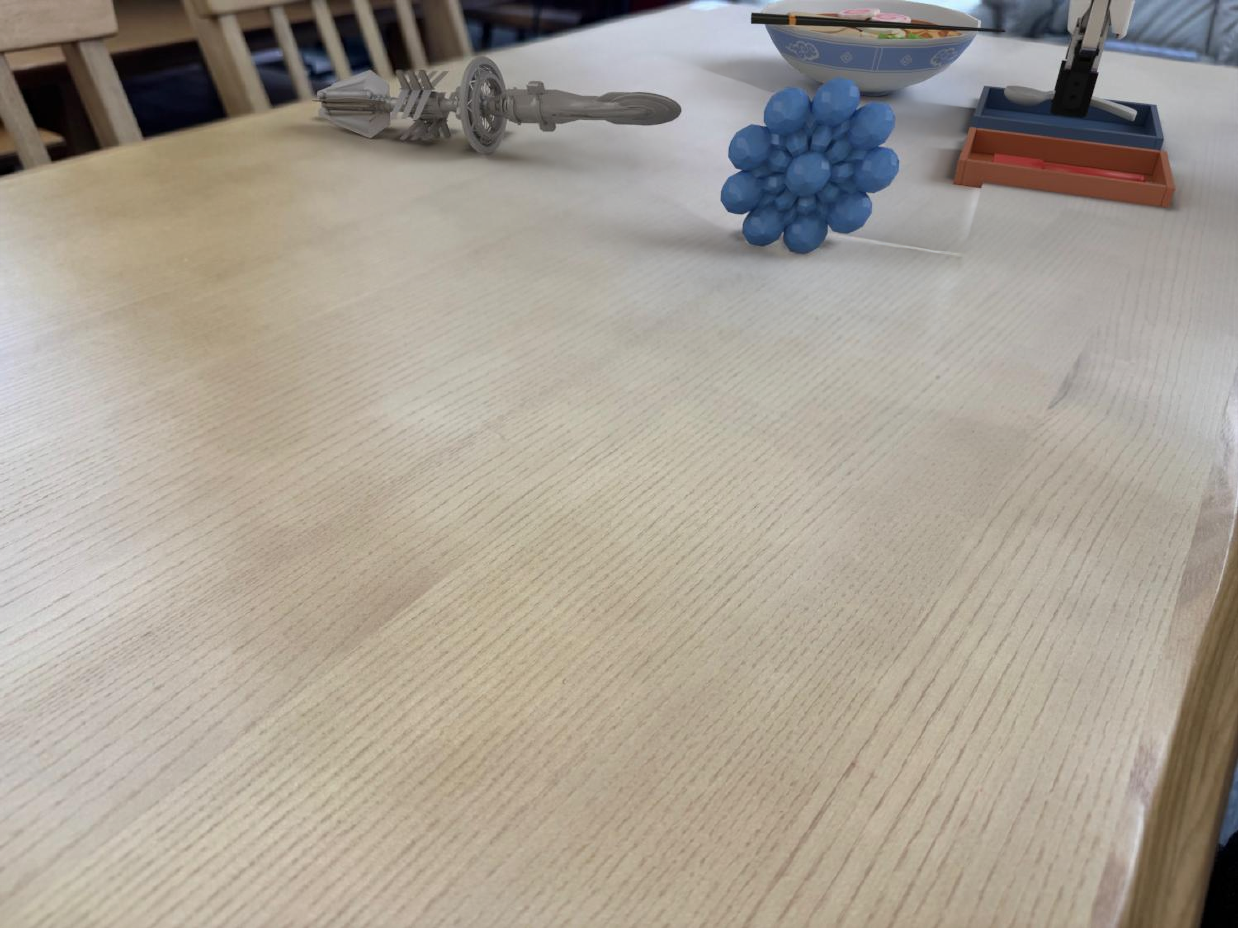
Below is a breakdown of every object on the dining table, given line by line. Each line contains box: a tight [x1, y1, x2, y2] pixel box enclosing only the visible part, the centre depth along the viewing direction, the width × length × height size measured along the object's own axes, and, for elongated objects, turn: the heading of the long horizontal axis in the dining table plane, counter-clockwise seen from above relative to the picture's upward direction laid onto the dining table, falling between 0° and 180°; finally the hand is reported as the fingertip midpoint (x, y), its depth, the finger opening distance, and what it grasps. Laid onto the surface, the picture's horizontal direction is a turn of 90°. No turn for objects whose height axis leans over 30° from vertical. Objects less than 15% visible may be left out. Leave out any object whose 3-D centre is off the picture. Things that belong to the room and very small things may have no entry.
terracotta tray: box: [952, 126, 1176, 208], centre depth 83 cm, size 16×10×2 cm, turn 69°
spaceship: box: [311, 55, 682, 155], centre depth 85 cm, size 8×35×8 cm
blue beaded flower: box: [720, 78, 900, 255], centre depth 68 cm, size 12×7×12 cm, turn 80°
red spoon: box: [992, 154, 1147, 183], centre depth 83 cm, size 12×3×1 cm, turn 69°
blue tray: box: [970, 85, 1165, 151], centre depth 95 cm, size 16×12×2 cm
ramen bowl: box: [750, 0, 1006, 97], centre depth 106 cm, size 25×23×8 cm
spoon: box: [1004, 85, 1137, 121], centre depth 94 cm, size 3×12×2 cm, turn 65°
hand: (1068, 109), depth 94 cm, fingers closed on spoon, 2 cm apart
